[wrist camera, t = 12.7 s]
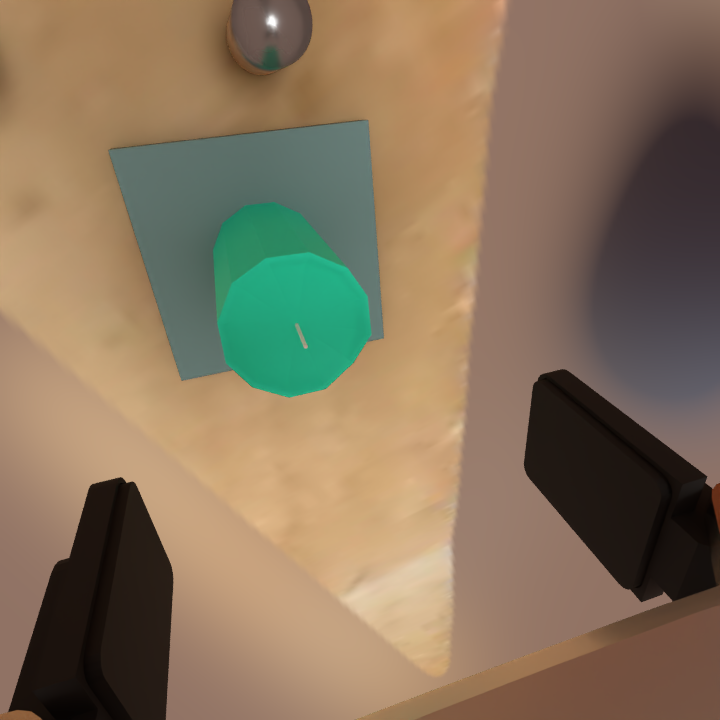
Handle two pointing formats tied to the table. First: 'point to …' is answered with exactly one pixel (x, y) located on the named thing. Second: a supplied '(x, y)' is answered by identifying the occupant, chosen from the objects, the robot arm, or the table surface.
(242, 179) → the mat
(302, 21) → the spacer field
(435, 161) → the table surface
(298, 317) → the candle
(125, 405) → the table surface
